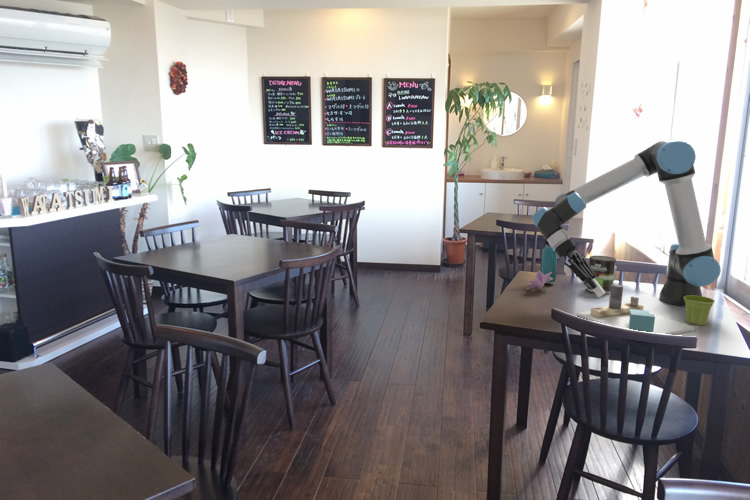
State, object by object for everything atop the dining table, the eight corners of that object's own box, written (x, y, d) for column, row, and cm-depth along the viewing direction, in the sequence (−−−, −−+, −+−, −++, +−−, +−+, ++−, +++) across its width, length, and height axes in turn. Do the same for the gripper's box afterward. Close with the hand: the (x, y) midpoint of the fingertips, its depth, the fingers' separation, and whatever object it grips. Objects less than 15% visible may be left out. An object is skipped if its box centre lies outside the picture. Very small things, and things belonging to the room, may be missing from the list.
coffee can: (607, 295, 226) (611, 261, 223) (582, 290, 233) (585, 257, 230) (616, 290, 234) (619, 257, 231) (591, 285, 240) (594, 254, 238)
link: (633, 307, 205) (636, 281, 203) (646, 312, 199) (649, 285, 197) (588, 313, 197) (590, 286, 195) (600, 318, 192) (603, 290, 190)
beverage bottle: (557, 286, 240) (561, 240, 236) (542, 285, 239) (545, 240, 235) (552, 282, 246) (556, 238, 242) (537, 282, 246) (541, 238, 242)
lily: (557, 293, 232) (549, 271, 235) (561, 289, 221) (553, 266, 223) (529, 300, 234) (522, 279, 236) (532, 297, 222) (524, 274, 225)
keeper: (626, 320, 190) (628, 305, 189) (648, 323, 188) (650, 307, 187) (629, 330, 180) (631, 314, 179) (653, 333, 178) (655, 316, 177)
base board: (624, 307, 209) (625, 304, 209) (694, 330, 184) (694, 327, 184) (576, 315, 198) (576, 313, 198) (643, 341, 174) (643, 338, 174)
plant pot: (691, 327, 187) (694, 302, 186) (674, 318, 197) (677, 295, 195) (717, 327, 188) (721, 302, 186) (700, 318, 197) (703, 295, 196)
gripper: (562, 247, 215) (601, 297, 207) (547, 251, 206) (586, 304, 198) (577, 235, 210) (617, 286, 202) (561, 239, 201) (602, 292, 193)
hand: (602, 295), depth 200 cm, fingers closed
